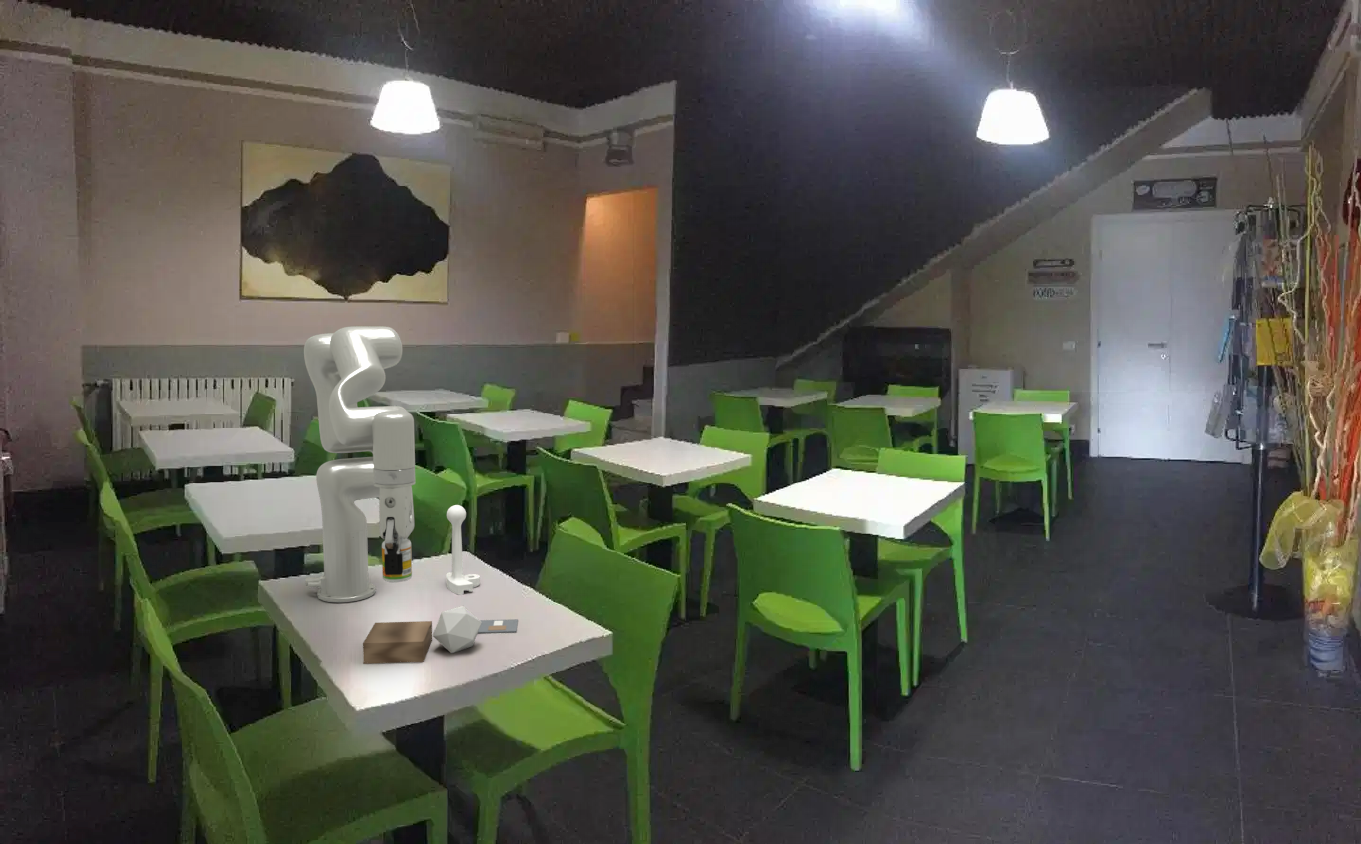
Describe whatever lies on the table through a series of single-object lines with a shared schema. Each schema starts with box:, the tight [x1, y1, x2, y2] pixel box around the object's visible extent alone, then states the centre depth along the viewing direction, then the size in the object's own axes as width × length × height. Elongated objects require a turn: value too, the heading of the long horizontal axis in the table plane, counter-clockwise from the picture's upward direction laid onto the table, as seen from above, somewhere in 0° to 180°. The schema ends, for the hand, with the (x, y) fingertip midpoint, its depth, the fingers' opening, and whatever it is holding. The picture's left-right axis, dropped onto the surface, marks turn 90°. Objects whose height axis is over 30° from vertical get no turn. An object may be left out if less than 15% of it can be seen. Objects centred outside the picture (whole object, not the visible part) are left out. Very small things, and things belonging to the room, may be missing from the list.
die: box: [432, 605, 482, 654], centre depth 176 cm, size 8×9×10 cm
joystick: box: [445, 504, 481, 596], centre depth 214 cm, size 11×8×20 cm
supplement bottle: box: [381, 534, 413, 583], centre depth 172 cm, size 5×5×10 cm
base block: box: [362, 620, 433, 665], centre depth 174 cm, size 11×11×4 cm
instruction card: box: [477, 618, 519, 635], centre depth 189 cm, size 8×7×1 cm
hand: (396, 568), depth 172 cm, fingers closed on supplement bottle, 5 cm apart
